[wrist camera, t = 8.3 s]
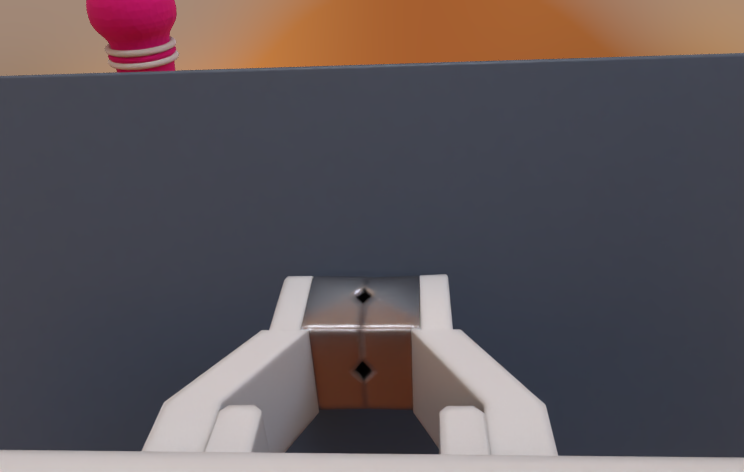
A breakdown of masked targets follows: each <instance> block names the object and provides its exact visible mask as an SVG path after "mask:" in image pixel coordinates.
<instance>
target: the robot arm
mask: <svg viewBox="0 0 744 472" xmlns="http://www.w3.org/2000/svg"><path fill="white" fill-rule="evenodd" d="M330 409H389V410H413V413H414V414H415V416H416V417H417V418H418V420H419V421H420V423H421V424H422V426H423V427H424V428H425V430H426V431H427V433H428V434H429V436H430V437H431V438H432V440H433V441H434V443H435V444H436V445H437V447H438V448H439V454H345V453H285V452H286V451H287V450H288V448H289V447H290V446H291V445H292V444H293V443H294V441H295V440H296V439H297V438H298V437H299V435H300V434H301V433H302V432H303V431H304V430H305V428H306V427H307V426H308V425H309V424H310V423H311V421H312V420H313V419H314V418H315V417H316V415H317V414H318V413H319V410H330ZM0 472H744V458H741V457H636V456H558V453H557V449H556V445H555V441H554V437H553V433H552V429H551V425H550V421H549V416H548V412H547V408H546V405H545V404H544V403H543V402H542V401H541V400H540V399H538V398H537V397H536V396H535V395H534V394H533V393H532V392H531V391H529V390H528V389H527V388H526V387H525V386H524V385H523V384H521V383H520V382H519V381H518V380H517V379H516V378H515V377H514V376H512V375H511V374H510V373H509V372H508V371H507V370H506V369H505V368H503V367H502V366H501V365H500V364H499V363H498V362H497V361H496V360H494V359H493V358H492V357H491V356H490V355H489V354H488V353H487V352H485V351H484V350H483V349H482V348H481V347H480V346H479V345H478V344H476V343H475V342H474V341H473V340H472V339H471V338H470V337H469V336H467V335H466V334H465V333H464V332H463V331H462V330H460V329H453V326H452V315H451V304H450V293H449V282H448V276H447V275H446V274H439V275H420V279H419V276H395V277H364V276H314V277H313V276H288V277H287V278H286V279H285V280H284V282H283V286H282V289H281V292H280V296H279V299H278V302H277V306H276V309H275V312H274V315H273V319H272V322H271V325H270V329H269V330H261V331H260V332H258V333H257V334H256V335H254V336H253V337H252V338H250V339H249V340H248V341H246V342H245V343H244V344H242V345H241V346H239V347H238V348H237V349H235V350H234V351H233V352H231V353H230V354H229V355H227V356H226V357H225V358H223V359H222V360H220V361H219V362H218V363H216V364H215V365H214V366H212V367H211V368H210V369H208V370H207V371H206V372H204V373H203V374H201V375H200V376H199V377H197V378H196V379H195V380H193V381H192V382H191V383H189V384H188V385H187V386H185V387H184V388H183V389H181V390H180V391H178V392H177V393H176V394H174V395H173V396H172V397H170V398H169V399H168V400H166V401H165V402H164V403H163V405H162V407H161V410H160V412H159V414H158V416H157V418H156V420H155V423H154V425H153V427H152V429H151V431H150V433H149V436H148V438H147V440H146V442H145V444H144V447H143V449H142V451H67V450H0Z"/></svg>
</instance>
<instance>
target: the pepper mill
mask: <svg viewBox="0 0 744 472" xmlns="http://www.w3.org/2000/svg"><path fill="white" fill-rule="evenodd" d="M86 3H87V4H86V7H87V13H88V18H89V20H90V23H91V25H92V26H93V28H94V29H95V30H96V31H97V32H98V33H99V34H100V35H102V36H103V37H104V38H105V39H106V40H107V41H108V43H109V44H108V45H107V46H106V47H105V51H106V53H107V54H108V57H109V60H108V64H109V65H110V66H111V67H113V68H116V70H117V72H149V71H175V64H174V61H175V60H176V59H177V58H178V56H179V54H178V51H176V47H175V45H176V40H175V39H174V38H173V37H171V36H169V35H170V30H171V28H172V26H173V24H174V22H175V20H176V5H175V1H174V0H86Z"/></svg>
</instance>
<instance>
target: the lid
mask: <svg viewBox="0 0 744 472" xmlns="http://www.w3.org/2000/svg"><path fill="white" fill-rule="evenodd" d="M439 274H446V275H447V276H448V282H449V293H450V304H451V315H452V326H453V329H460V330H462V331H463V332H464V333H465V334H466V335H467V336H469V337H470V338H471V339H472V340H473V341H474V342H475V343H476V344H478V345H479V346H480V347H481V348H482V349H483V350H484V351H485V352H487V353H488V354H489V355H490V356H491V357H492V358H493V359H494V360H496V361H497V362H498V363H499V364H500V365H501V366H502V367H503V368H505V369H506V370H507V371H508V372H509V373H510V374H511V375H512V376H514V377H515V378H516V379H517V380H518V381H519V382H520V383H521V384H523V385H524V386H525V387H526V388H527V389H528V390H529V391H531V392H532V393H533V394H534V395H535V396H536V397H537V398H538V399H540V400H541V401H542V402H543V403H544V404H545V405H546V408H547V412H548V416H549V421H550V425H551V429H552V433H553V437H554V441H555V445H556V449H557V453H558V456H636V457H741V458H744V53H735V54H703V55H702V54H700V55H670V56H637V57H603V58H571V59H541V60H540V59H538V60H506V61H475V62H443V63H442V62H441V63H409V64H378V65H377V64H376V65H344V66H312V67H279V68H249V69H248V68H247V69H216V70H215V69H214V70H182V71H149V72H117V73H85V74H55V75H54V74H53V75H22V76H0V450H67V451H142V449H143V447H144V444H145V442H146V440H147V438H148V436H149V433H150V431H151V429H152V427H153V425H154V423H155V420H156V418H157V416H158V414H159V412H160V410H161V407H162V405H163V403H164V402H165V401H166V400H168V399H169V398H170V397H172V396H173V395H174V394H176V393H177V392H178V391H180V390H181V389H183V388H184V387H185V386H187V385H188V384H189V383H191V382H192V381H193V380H195V379H196V378H197V377H199V376H200V375H201V374H203V373H204V372H206V371H207V370H208V369H210V368H211V367H212V366H214V365H215V364H216V363H218V362H219V361H220V360H222V359H223V358H225V357H226V356H227V355H229V354H230V353H231V352H233V351H234V350H235V349H237V348H238V347H239V346H241V345H242V344H244V343H245V342H246V341H248V340H249V339H250V338H252V337H253V336H254V335H256V334H257V333H258V332H260V331H261V330H269V329H270V325H271V322H272V319H273V315H274V312H275V309H276V306H277V302H278V299H279V296H280V292H281V289H282V286H283V282H284V280H285V279H286V278H287V277H288V276H313V277H314V276H364V277H395V276H419V279H420V275H439ZM285 453H345V454H439V448H438V447H437V445H436V444H435V443H434V441H433V440H432V438H431V437H430V436H429V434H428V433H427V431H426V430H425V428H424V427H423V426H422V424H421V423H420V421H419V420H418V418H417V417H416V416H415V414H414V413H413V410H389V409H330V410H319V413H318V414H317V415H316V417H315V418H314V419H313V420H312V421H311V423H310V424H309V425H308V426H307V427H306V428H305V430H304V431H303V432H302V433H301V434H300V435H299V437H298V438H297V439H296V440H295V441H294V443H293V444H292V445H291V446H290V447H289V448H288V450H287V451H286V452H285Z"/></svg>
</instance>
